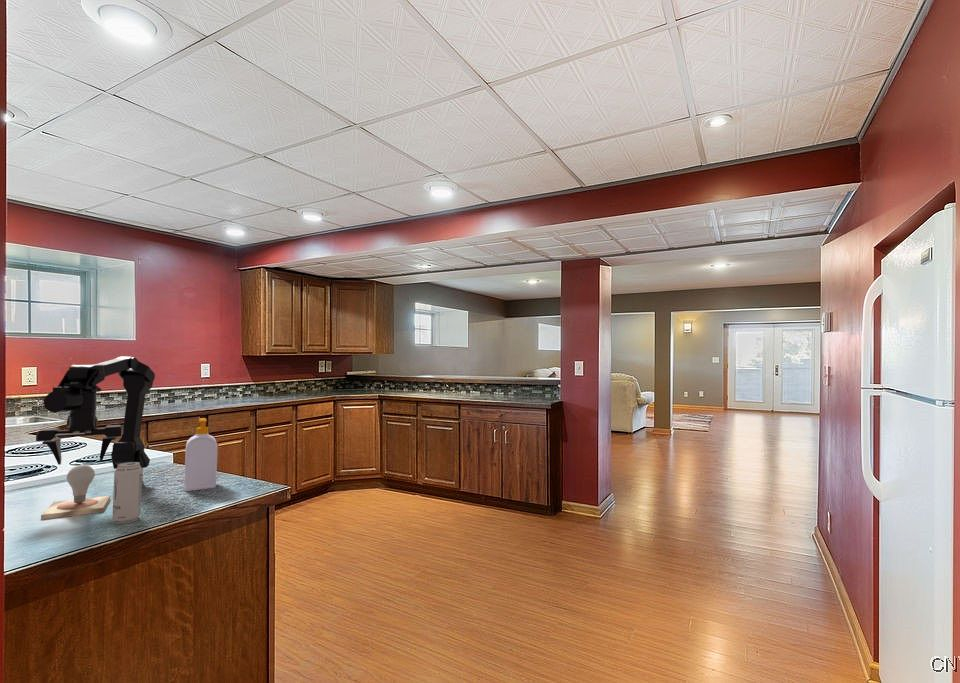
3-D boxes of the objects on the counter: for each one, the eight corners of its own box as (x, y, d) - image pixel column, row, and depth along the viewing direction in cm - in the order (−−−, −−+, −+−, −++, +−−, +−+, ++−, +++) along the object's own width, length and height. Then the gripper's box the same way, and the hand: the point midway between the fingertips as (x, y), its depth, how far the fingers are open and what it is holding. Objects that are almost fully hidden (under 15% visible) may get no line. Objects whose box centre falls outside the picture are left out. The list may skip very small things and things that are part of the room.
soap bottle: (214, 483, 163) (217, 416, 164) (216, 487, 158) (218, 419, 158) (184, 486, 159) (186, 418, 159) (184, 491, 153) (187, 420, 154)
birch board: (110, 499, 143) (110, 495, 143) (102, 511, 132) (103, 507, 132) (53, 505, 136) (53, 501, 136) (40, 519, 125) (41, 514, 125)
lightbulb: (98, 502, 136) (100, 463, 137) (74, 508, 130) (76, 468, 131) (84, 499, 138) (86, 461, 139) (59, 505, 132) (62, 466, 133)
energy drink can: (110, 520, 125) (113, 463, 126) (138, 515, 130) (140, 460, 130) (113, 526, 121) (116, 467, 122) (142, 521, 125) (144, 464, 126)
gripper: (126, 404, 148) (124, 454, 147) (47, 406, 138) (45, 460, 138) (122, 408, 138) (119, 461, 138) (36, 411, 129) (34, 468, 128)
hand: (80, 462), depth 136 cm, fingers open, 9 cm apart
